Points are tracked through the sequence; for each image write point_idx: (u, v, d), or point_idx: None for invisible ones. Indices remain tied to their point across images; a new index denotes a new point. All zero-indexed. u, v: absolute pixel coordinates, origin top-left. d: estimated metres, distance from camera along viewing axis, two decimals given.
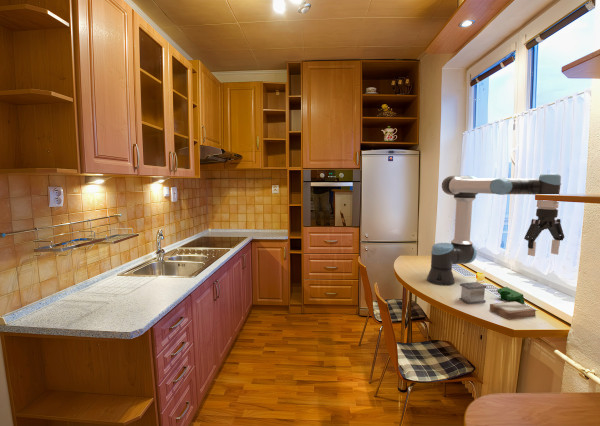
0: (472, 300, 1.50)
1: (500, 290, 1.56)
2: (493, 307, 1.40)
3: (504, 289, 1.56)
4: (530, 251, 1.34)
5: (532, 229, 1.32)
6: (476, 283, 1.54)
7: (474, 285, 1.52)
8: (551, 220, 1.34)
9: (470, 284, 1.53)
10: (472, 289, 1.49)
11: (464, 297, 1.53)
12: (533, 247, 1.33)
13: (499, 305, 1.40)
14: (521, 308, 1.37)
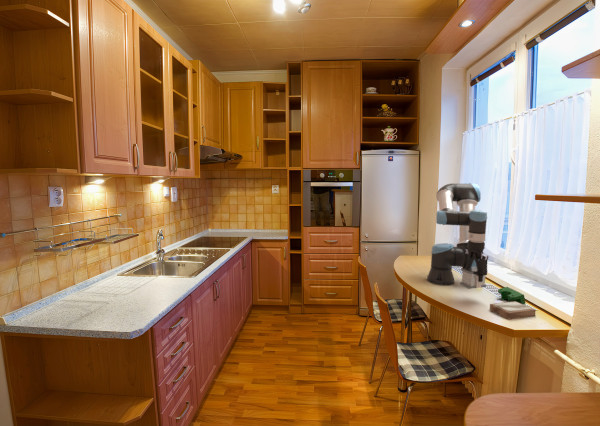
0: (473, 284, 1.49)
1: (501, 290, 1.56)
2: (493, 307, 1.40)
3: (504, 289, 1.56)
4: None
5: None
6: None
7: (475, 269, 1.51)
8: (476, 251, 1.49)
9: (471, 269, 1.52)
10: (473, 273, 1.48)
11: (465, 282, 1.53)
12: None
13: (499, 305, 1.40)
14: (521, 308, 1.37)
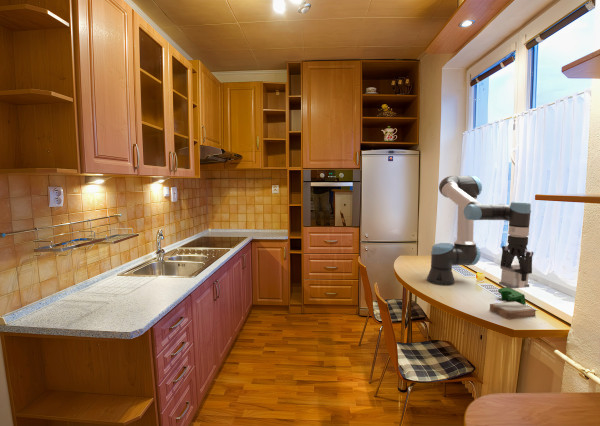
0: (515, 284, 1.34)
1: (501, 290, 1.56)
2: (493, 307, 1.40)
3: (505, 289, 1.56)
4: None
5: None
6: (518, 266, 1.39)
7: (517, 267, 1.36)
8: (519, 247, 1.34)
9: (512, 266, 1.37)
10: (515, 271, 1.33)
11: (505, 281, 1.37)
12: None
13: (499, 305, 1.40)
14: (521, 308, 1.37)
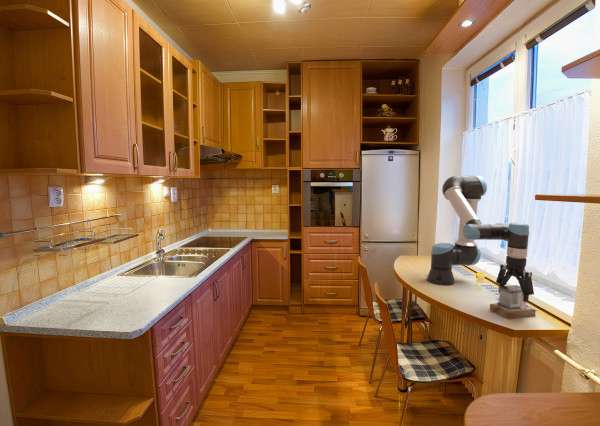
0: (513, 305, 1.35)
1: None
2: (493, 307, 1.40)
3: None
4: None
5: None
6: (516, 286, 1.40)
7: (515, 288, 1.38)
8: (517, 268, 1.35)
9: (510, 287, 1.38)
10: (513, 293, 1.35)
11: (503, 302, 1.39)
12: None
13: None
14: None
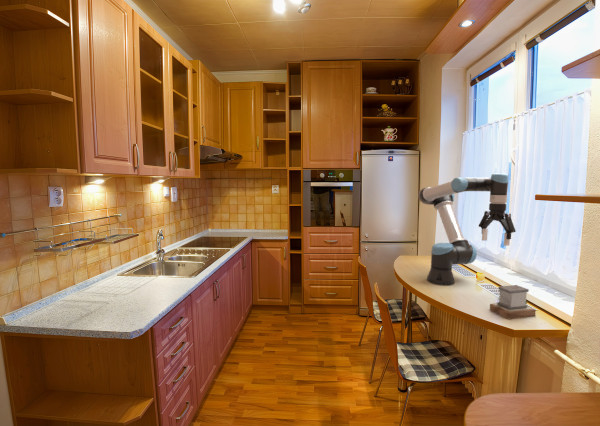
0: (513, 305, 1.35)
1: None
2: (493, 307, 1.40)
3: None
4: None
5: None
6: (516, 286, 1.40)
7: (515, 288, 1.38)
8: (498, 213, 1.56)
9: (510, 287, 1.38)
10: (513, 293, 1.35)
11: (503, 302, 1.39)
12: None
13: None
14: (521, 308, 1.37)
